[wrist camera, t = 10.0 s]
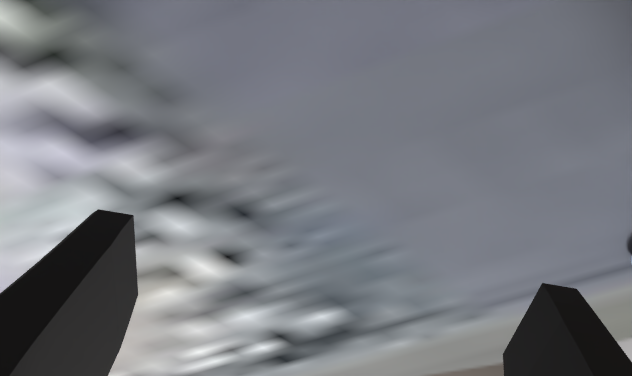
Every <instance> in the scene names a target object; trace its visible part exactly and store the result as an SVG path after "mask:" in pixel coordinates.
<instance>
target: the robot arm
mask: <svg viewBox="0 0 632 376" xmlns="http://www.w3.org/2000/svg"><path fill="white" fill-rule="evenodd" d="M630 260H631V264H632V256H631V258H630ZM137 296H138V286H137V269H136V252H135V235H134V218H133V215H129V214H123V213H117V212H110V211H104V210H97V211H95V212H94V213H92V214H91V215H90V216H89V217H88V218H87V219H86V220H85V221H83V222H82V223H81V224H80V225H79V226H78V227H77V228H76V229H75V230H74V231H72V232H71V233H70V234H69V235H68V236H67V237H66V238H65V239H64V240H62V241H61V242H60V243H59V244H58V245H57V246H56V247H55V248H53V249H52V250H51V251H50V252H49V253H48V254H47V255H45V256H44V257H43V258H42V259H41V260H40V261H39V262H37V263H36V264H35V265H34V266H33V267H32V268H30V269H29V270H28V271H27V272H26V273H24V274H23V275H22V276H21V277H20V278H18V279H17V280H16V281H15V282H14V283H12V284H11V285H10V286H9V287H8V288H6V289H5V290H4V291H3V292H2V293H0V376H108V374H109V372H110V369H111V367H112V365H113V363H114V361H115V359H116V356H117V354H118V352H119V350H120V348H121V345H122V342H123V339H124V336H125V333H126V330H127V327H128V324H129V321H130V318H131V315H132V312H133V309H134V305H135V302H136V299H137ZM503 363H504V376H632V362H631V361H630V359H629V358H628V357H627V355H626V354H625V353H624V351H623V350H622V349H621V347H620V346H619V345H618V343H617V342H616V341H615V339H614V338H613V337H612V335H611V334H610V333H609V331H608V330H607V328H606V327H605V326H604V324H603V323H602V322H601V320H600V319H599V318H598V316H597V315H596V314H595V312H594V311H593V310H592V308H591V307H590V306H589V304H588V303H587V302H586V300H585V299H584V298H583V296H582V295H581V294H580V293H579V291H578V290H577V289H574V288H568V287H562V286H556V285H550V284H544V283H542V285H541V287H540V288H539V290H538V292H537V294H536V296H535V297H534V299H533V301H532V303H531V305H530V306H529V308H528V310H527V312H526V314H525V315H524V317H523V319H522V321H521V323H520V324H519V326H518V328H517V330H516V332H515V333H514V335H513V337H512V339H511V341H510V342H509V344H508V346H507V348H506V350H505V351H504V353H503Z"/></svg>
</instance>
